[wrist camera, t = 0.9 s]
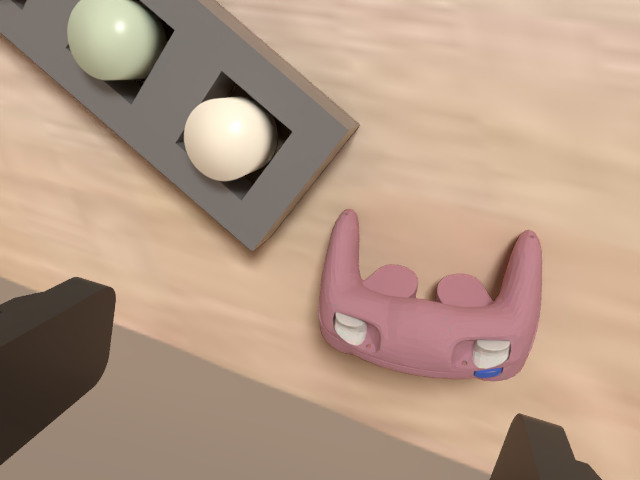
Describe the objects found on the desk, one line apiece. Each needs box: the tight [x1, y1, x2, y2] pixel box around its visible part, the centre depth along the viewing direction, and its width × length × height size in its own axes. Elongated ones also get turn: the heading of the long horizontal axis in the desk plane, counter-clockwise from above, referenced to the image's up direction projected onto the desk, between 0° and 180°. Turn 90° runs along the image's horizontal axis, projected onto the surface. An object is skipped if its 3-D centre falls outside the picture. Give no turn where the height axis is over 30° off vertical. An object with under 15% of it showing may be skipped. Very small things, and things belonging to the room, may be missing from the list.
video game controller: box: [318, 209, 542, 381], centre depth 25 cm, size 10×5×7 cm
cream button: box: [184, 96, 278, 181], centre depth 25 cm, size 4×4×2 cm
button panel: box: [0, 0, 360, 251], centre depth 27 cm, size 22×8×2 cm, turn 51°
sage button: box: [67, 0, 167, 80], centre depth 25 cm, size 4×4×2 cm
